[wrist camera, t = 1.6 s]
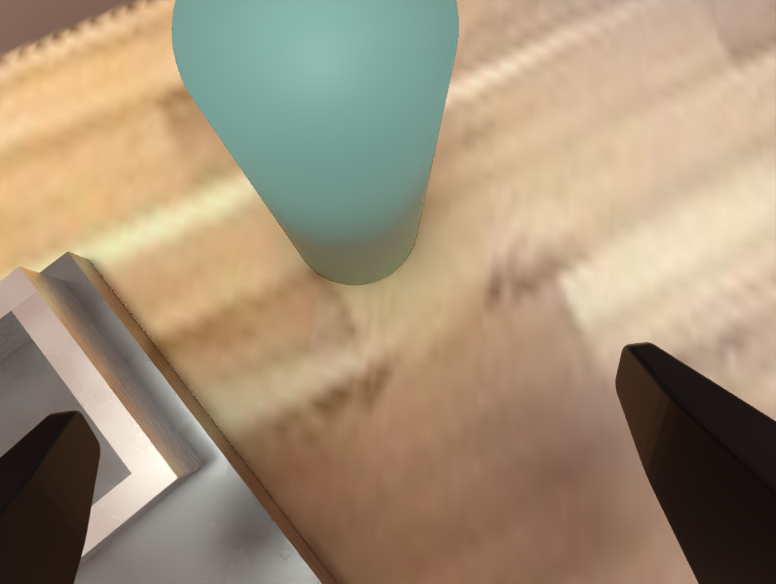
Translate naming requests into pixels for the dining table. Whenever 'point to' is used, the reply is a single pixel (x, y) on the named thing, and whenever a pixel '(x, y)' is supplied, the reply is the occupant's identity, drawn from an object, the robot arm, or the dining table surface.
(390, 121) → the teal tall cylinder
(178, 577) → the socket board
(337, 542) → the dining table surface
